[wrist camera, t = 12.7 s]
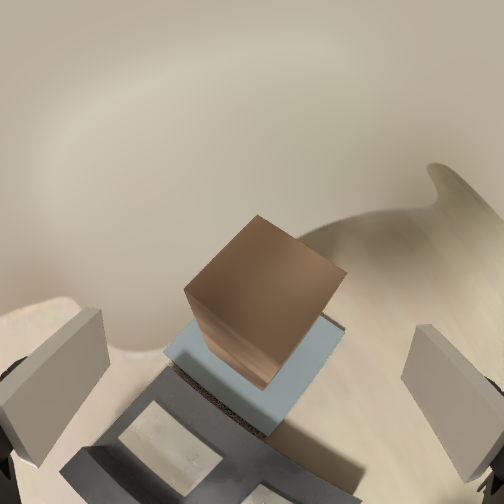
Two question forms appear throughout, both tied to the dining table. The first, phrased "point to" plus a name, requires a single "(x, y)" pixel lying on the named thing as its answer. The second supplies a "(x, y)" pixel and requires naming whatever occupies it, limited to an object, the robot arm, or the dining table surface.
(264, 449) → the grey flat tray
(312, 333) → the mat
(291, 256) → the walnut block
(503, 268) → the dining table surface
